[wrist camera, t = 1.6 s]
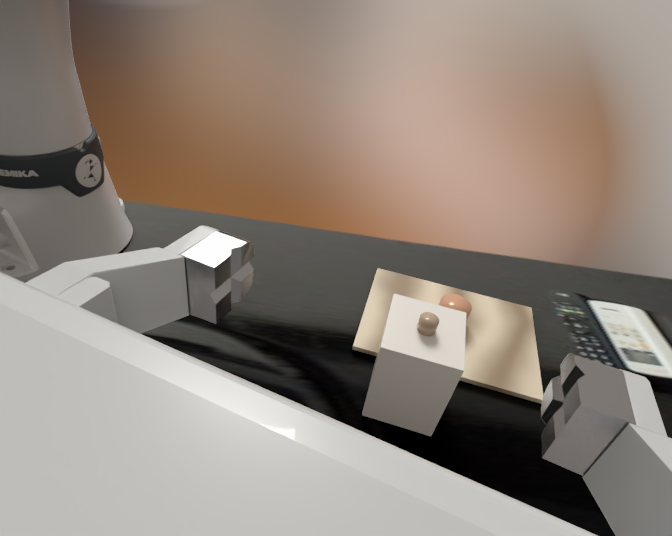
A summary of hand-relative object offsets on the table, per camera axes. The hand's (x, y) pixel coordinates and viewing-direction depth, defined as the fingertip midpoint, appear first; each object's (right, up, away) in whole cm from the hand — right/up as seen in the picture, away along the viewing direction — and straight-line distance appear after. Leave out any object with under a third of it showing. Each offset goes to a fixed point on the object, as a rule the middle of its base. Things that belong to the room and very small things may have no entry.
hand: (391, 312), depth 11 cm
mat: (+12, -6, +39) cm, 41 cm away
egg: (+12, -5, +39) cm, 41 cm away
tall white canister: (+5, -12, +31) cm, 33 cm away
